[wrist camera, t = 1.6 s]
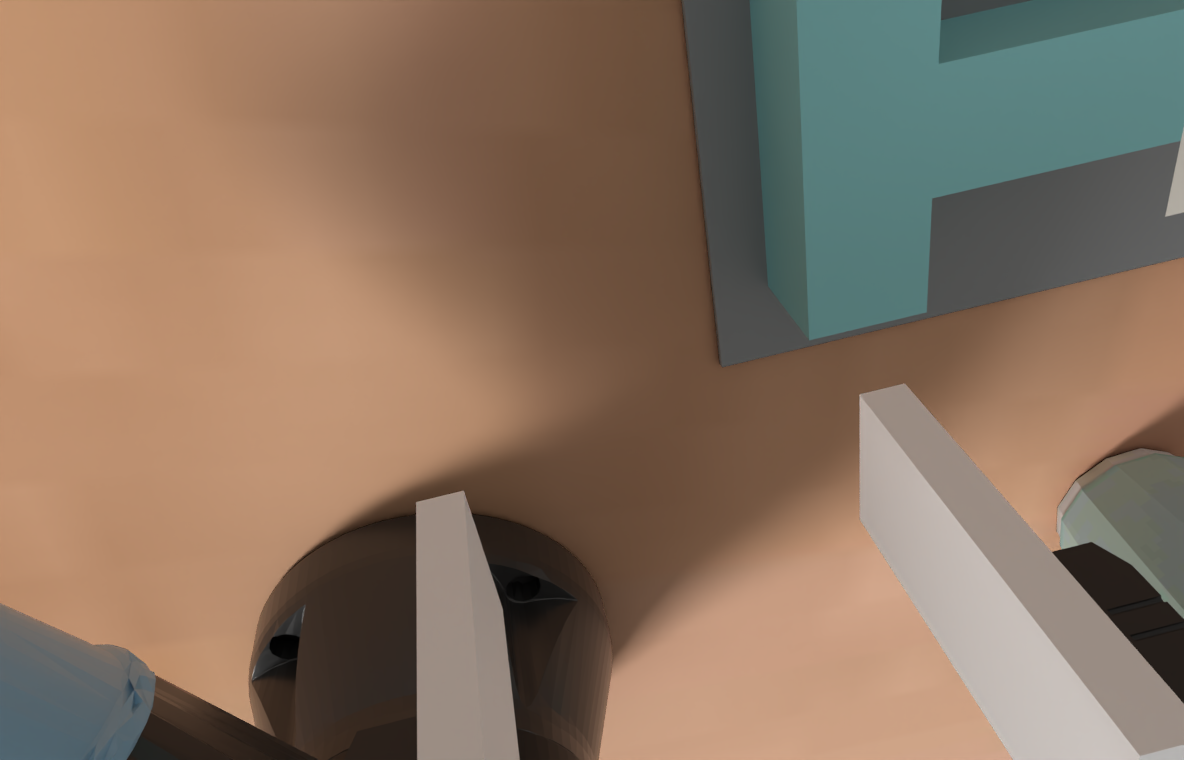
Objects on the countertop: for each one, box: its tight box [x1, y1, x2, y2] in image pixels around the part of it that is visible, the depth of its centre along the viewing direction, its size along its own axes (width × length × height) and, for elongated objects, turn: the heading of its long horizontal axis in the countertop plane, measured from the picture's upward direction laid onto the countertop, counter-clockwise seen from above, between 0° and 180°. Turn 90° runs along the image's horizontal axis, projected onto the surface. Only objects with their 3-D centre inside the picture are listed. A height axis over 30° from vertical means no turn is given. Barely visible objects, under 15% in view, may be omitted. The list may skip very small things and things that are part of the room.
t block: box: [749, 0, 1184, 340], centre depth 27 cm, size 12×12×4 cm
